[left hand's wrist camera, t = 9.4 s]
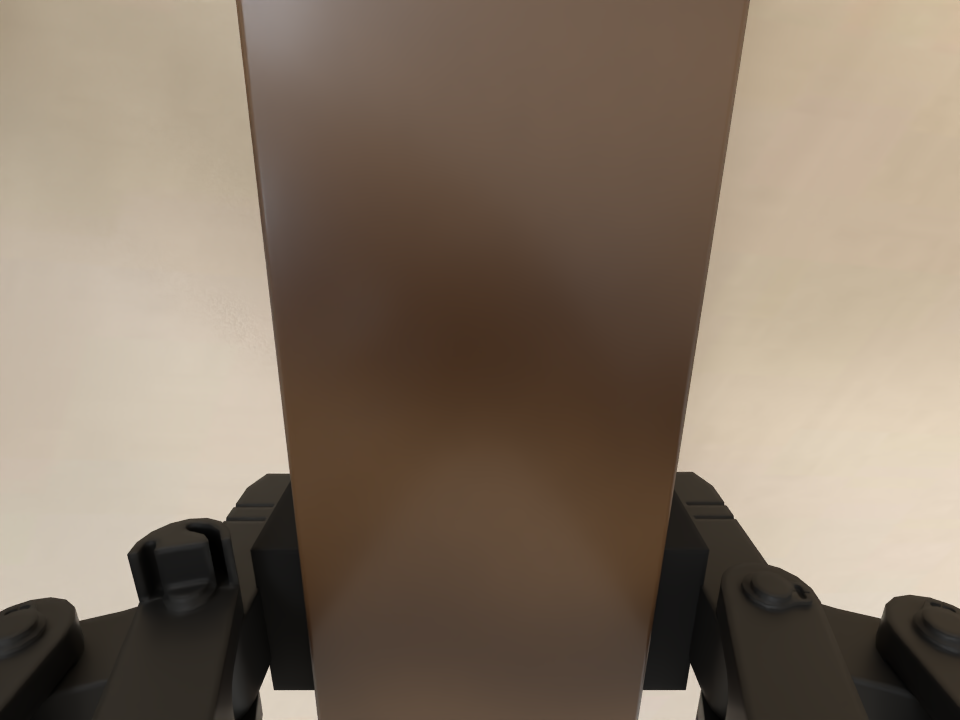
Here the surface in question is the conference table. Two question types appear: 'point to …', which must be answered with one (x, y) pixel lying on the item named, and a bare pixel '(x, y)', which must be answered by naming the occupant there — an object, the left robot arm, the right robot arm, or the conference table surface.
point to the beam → (485, 332)
